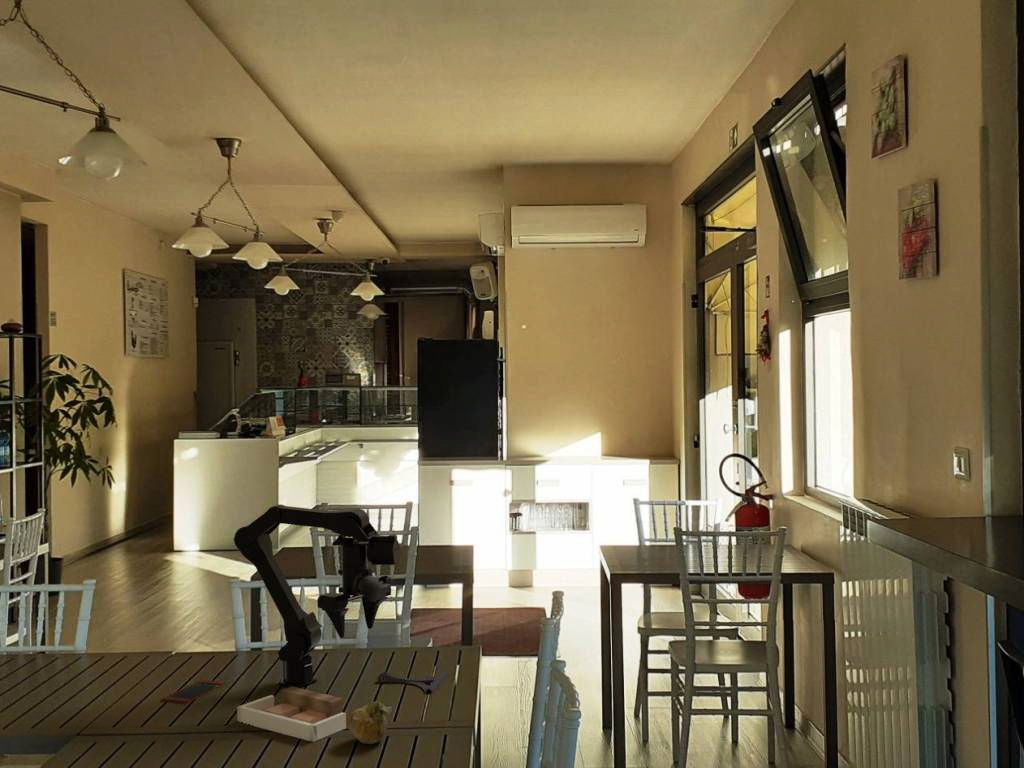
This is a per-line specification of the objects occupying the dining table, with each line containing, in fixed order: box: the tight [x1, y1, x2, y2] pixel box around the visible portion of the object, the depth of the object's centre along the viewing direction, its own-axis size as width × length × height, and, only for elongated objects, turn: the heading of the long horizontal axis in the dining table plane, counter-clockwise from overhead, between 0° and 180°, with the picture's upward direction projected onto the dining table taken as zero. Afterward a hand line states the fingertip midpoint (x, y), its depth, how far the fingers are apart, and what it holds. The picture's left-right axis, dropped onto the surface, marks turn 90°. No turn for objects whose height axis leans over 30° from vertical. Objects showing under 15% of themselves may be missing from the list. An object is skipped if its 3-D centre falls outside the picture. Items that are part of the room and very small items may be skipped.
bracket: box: [377, 669, 449, 694], centre depth 232 cm, size 14×15×3 cm
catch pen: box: [236, 694, 347, 743], centre depth 205 cm, size 22×9×3 cm, turn 55°
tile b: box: [291, 710, 327, 724], centre depth 204 cm, size 5×5×2 cm
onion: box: [347, 701, 394, 745], centre depth 194 cm, size 8×8×8 cm
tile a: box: [265, 703, 300, 718], centre depth 208 cm, size 5×5×2 cm
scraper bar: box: [280, 686, 344, 718], centre depth 209 cm, size 15×3×5 cm, turn 54°
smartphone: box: [160, 679, 228, 704], centre depth 228 cm, size 7×1×15 cm
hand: (355, 632), depth 230 cm, fingers open, 9 cm apart
